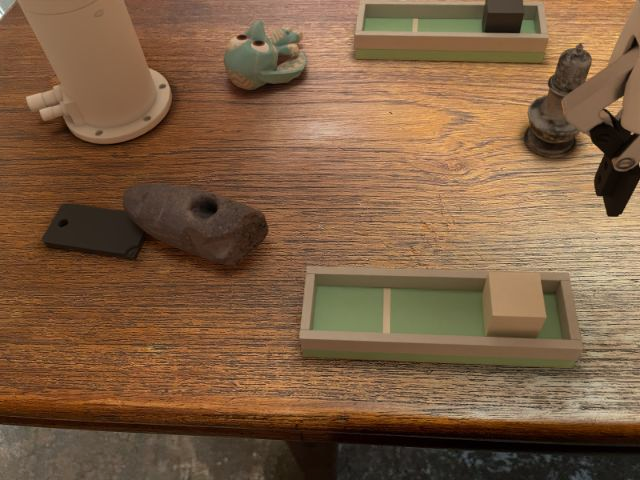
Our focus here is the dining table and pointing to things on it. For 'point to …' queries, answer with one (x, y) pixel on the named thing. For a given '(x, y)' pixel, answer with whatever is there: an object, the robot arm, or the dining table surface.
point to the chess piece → (557, 107)
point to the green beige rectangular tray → (445, 32)
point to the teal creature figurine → (263, 57)
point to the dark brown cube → (502, 16)
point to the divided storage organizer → (427, 318)
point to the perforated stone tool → (196, 221)
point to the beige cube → (513, 305)
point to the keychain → (95, 231)
